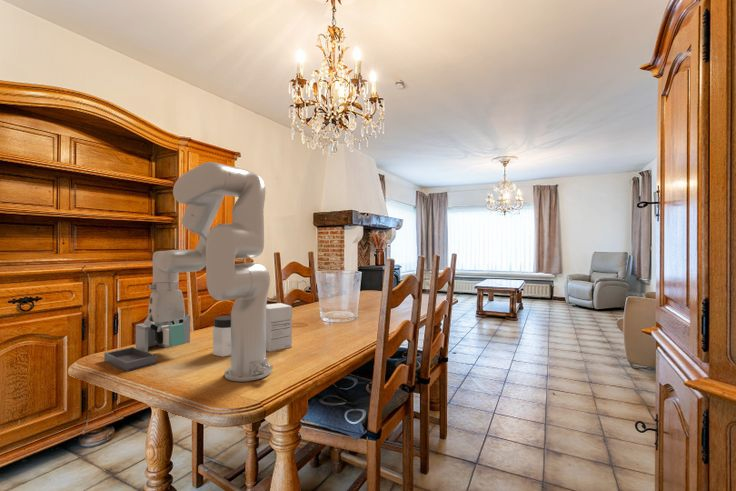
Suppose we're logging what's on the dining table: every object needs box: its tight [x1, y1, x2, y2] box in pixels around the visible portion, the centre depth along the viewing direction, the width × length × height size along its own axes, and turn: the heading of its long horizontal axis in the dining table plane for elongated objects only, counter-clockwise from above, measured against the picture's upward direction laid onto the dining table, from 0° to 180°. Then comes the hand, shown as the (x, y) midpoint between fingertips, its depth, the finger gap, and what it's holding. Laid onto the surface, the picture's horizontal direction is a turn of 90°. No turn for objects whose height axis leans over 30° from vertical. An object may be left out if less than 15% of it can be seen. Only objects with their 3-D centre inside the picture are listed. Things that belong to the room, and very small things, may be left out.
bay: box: [135, 314, 191, 353], centre depth 125 cm, size 7×16×10 cm, turn 146°
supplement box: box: [266, 302, 293, 352], centre depth 124 cm, size 9×9×15 cm
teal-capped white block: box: [155, 323, 186, 347], centre depth 115 cm, size 11×4×6 cm, turn 56°
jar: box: [212, 314, 231, 358], centre depth 117 cm, size 9×8×12 cm
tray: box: [103, 346, 157, 372], centre depth 107 cm, size 16×8×2 cm, turn 56°
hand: (166, 340), depth 116 cm, fingers closed on teal-capped white block, 4 cm apart
